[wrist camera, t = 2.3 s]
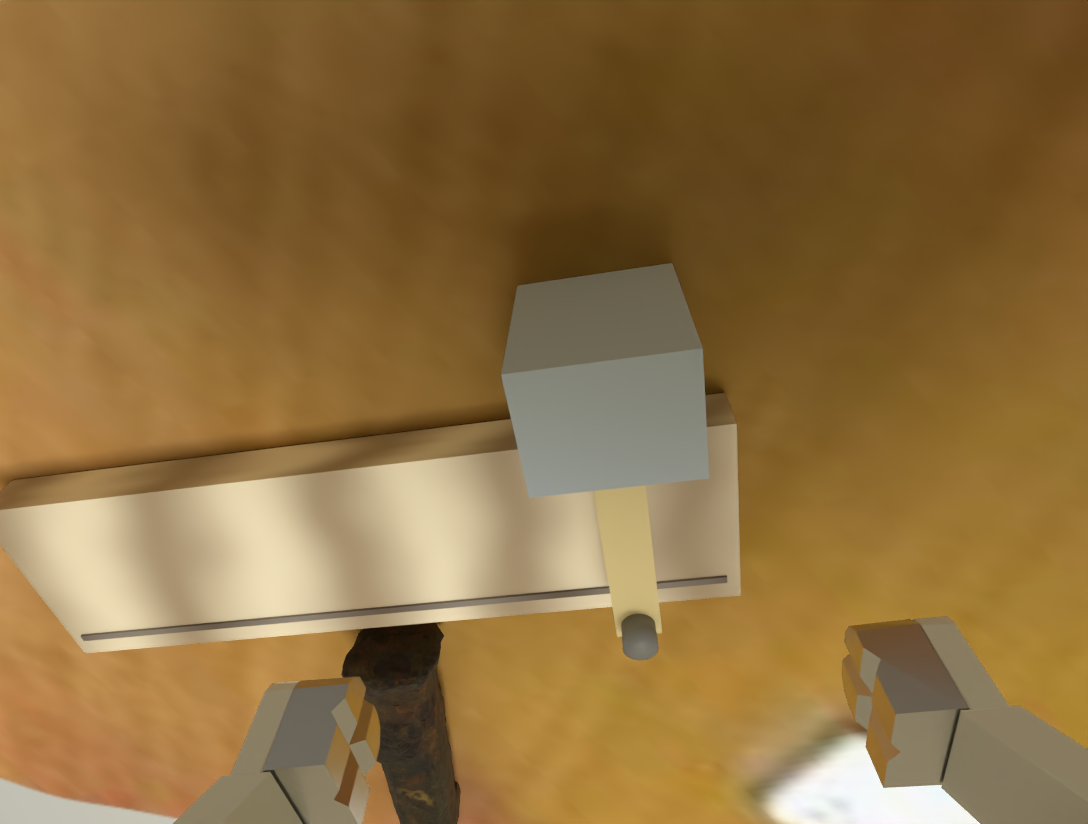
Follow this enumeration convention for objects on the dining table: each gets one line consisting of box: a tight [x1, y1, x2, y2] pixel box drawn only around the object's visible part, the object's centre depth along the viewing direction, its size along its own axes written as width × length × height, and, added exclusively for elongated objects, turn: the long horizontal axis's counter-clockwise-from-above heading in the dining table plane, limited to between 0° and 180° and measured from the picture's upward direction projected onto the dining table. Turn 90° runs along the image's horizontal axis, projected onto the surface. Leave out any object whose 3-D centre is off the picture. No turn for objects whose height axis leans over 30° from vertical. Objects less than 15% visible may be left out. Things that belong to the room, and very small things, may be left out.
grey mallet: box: [501, 263, 709, 660], centre depth 22 cm, size 5×12×6 cm, turn 9°
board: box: [0, 393, 741, 653], centre depth 27 cm, size 28×8×2 cm, turn 100°
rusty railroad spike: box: [341, 622, 460, 824], centre depth 34 cm, size 19×4×5 cm, turn 0°
